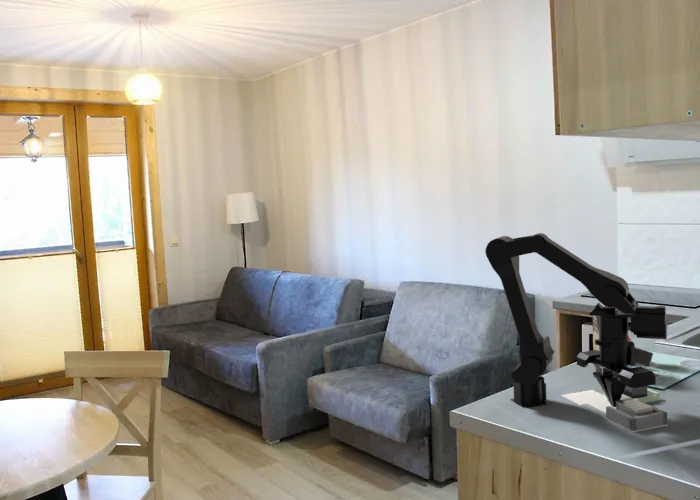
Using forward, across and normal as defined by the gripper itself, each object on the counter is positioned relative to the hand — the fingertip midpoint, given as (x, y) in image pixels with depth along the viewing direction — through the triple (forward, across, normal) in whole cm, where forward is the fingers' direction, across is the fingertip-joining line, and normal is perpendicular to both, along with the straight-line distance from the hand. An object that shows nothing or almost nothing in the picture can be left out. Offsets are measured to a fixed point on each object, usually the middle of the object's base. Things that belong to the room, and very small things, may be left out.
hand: (614, 406), depth 136 cm
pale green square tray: (+2, +6, -9) cm, 11 cm away
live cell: (+1, +6, -9) cm, 11 cm away
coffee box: (+2, +25, -18) cm, 31 cm away
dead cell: (+1, -6, 0) cm, 6 cm away
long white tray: (+2, +1, 0) cm, 2 cm away
